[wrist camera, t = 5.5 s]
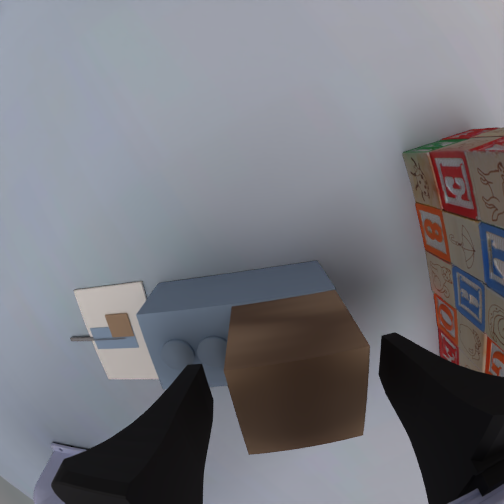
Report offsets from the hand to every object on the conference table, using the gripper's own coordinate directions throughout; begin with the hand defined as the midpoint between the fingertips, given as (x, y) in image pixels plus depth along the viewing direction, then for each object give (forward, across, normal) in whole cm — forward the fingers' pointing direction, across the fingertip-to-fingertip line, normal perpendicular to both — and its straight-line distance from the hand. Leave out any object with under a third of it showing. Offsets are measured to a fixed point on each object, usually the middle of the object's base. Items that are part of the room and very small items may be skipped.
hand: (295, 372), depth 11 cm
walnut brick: (+2, 0, 0) cm, 2 cm away
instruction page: (+6, +10, +1) cm, 12 cm away
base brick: (+6, +2, 0) cm, 7 cm away
